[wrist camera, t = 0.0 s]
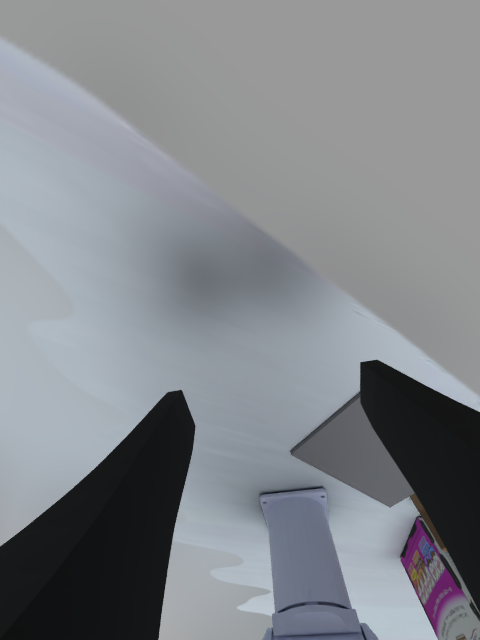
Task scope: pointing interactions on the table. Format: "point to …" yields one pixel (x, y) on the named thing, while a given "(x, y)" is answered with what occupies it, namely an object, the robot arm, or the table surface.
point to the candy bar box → (440, 587)
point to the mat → (354, 455)
